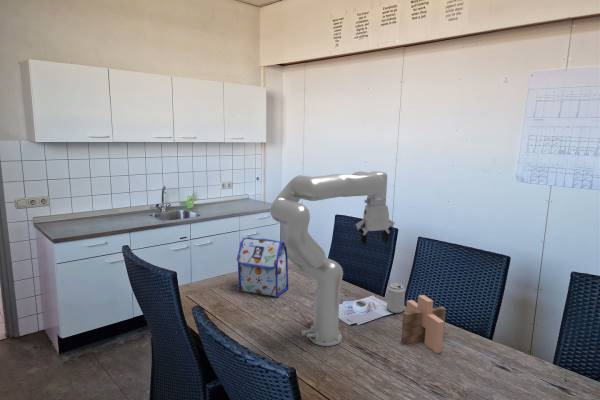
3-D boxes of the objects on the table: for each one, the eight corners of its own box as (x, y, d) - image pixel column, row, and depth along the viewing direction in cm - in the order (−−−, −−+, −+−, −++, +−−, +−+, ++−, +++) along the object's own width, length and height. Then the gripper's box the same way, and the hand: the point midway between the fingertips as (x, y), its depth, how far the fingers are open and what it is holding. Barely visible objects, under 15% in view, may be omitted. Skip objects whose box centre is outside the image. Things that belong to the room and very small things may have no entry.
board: (404, 344, 153) (406, 314, 151) (401, 341, 155) (403, 312, 153) (443, 337, 159) (445, 308, 157) (440, 334, 161) (442, 306, 159)
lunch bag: (234, 293, 198) (233, 240, 193) (249, 282, 213) (249, 232, 209) (276, 300, 190) (277, 246, 186) (289, 288, 206) (290, 237, 201)
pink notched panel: (441, 352, 148) (445, 308, 145) (436, 353, 147) (439, 309, 144) (410, 327, 167) (413, 288, 164) (405, 328, 166) (407, 288, 163)
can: (404, 314, 178) (405, 289, 176) (386, 312, 180) (388, 287, 178) (403, 307, 185) (404, 282, 183) (386, 306, 187) (388, 281, 185)
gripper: (361, 204, 157) (359, 247, 160) (400, 202, 163) (397, 243, 165) (353, 201, 164) (351, 242, 167) (390, 199, 170) (387, 239, 172)
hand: (374, 242), depth 166 cm, fingers open, 9 cm apart
